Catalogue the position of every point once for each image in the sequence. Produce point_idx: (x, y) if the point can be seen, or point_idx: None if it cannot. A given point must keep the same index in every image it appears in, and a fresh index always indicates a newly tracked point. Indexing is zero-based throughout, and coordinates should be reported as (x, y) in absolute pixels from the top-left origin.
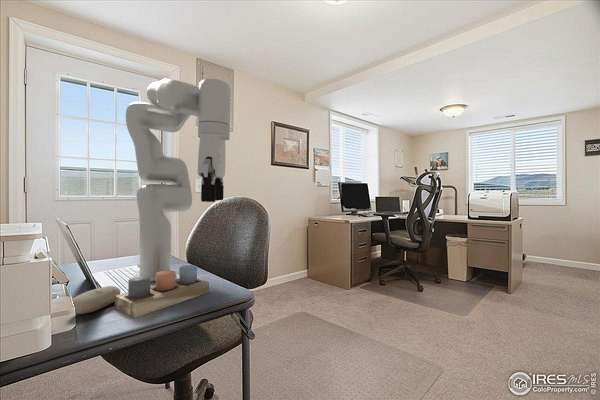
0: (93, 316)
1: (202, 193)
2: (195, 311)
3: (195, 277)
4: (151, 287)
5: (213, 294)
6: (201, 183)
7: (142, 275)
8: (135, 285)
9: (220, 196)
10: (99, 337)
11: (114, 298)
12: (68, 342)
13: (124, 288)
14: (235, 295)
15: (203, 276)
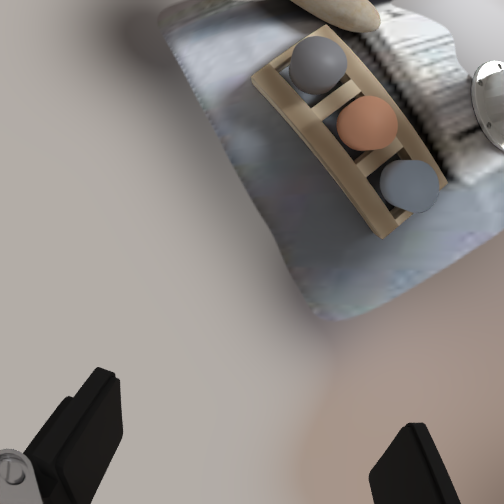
0: (281, 10)
1: (71, 408)
2: (257, 204)
3: (393, 204)
4: (374, 92)
5: (355, 243)
6: (3, 449)
7: (490, 75)
8: (291, 57)
9: (377, 485)
10: (180, 51)
11: (336, 25)
12: (176, 16)
13: (438, 42)
14: (332, 294)
15: (486, 220)
